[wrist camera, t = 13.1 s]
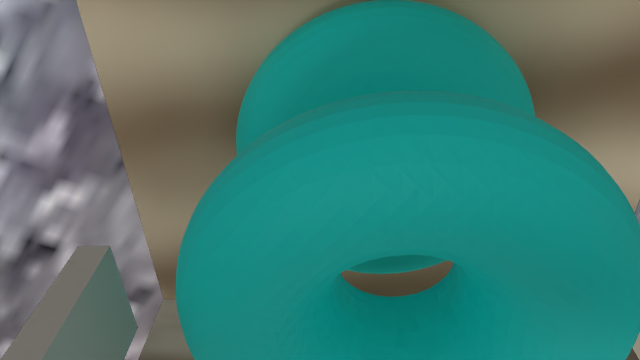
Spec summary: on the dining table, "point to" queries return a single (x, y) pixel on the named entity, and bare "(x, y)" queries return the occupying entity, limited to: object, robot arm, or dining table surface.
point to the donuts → (405, 207)
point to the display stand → (256, 44)
